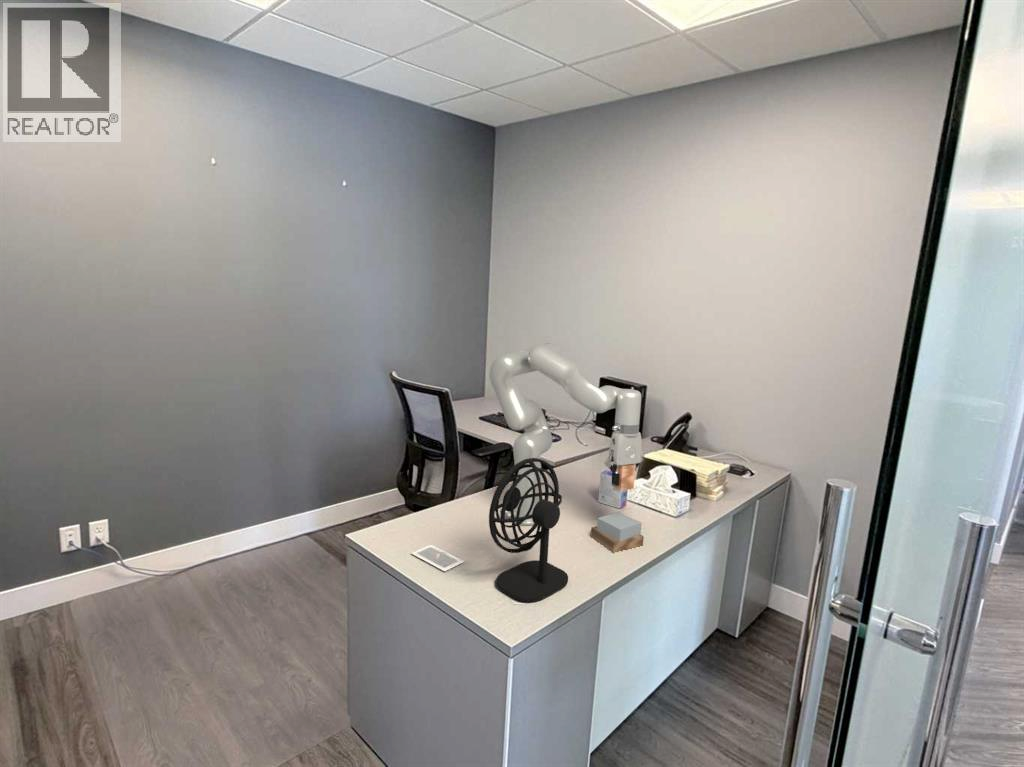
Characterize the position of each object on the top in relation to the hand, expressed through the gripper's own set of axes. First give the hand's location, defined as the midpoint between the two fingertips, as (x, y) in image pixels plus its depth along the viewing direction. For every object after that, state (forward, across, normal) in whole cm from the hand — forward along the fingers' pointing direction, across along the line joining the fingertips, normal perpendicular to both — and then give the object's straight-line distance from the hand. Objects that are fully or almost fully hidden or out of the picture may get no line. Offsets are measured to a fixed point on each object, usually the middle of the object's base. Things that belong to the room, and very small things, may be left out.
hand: (622, 482), depth 173 cm
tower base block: (+21, 0, 0) cm, 21 cm away
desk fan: (+21, -38, -10) cm, 45 cm away
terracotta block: (+2, 0, 0) cm, 2 cm away
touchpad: (+21, -58, +11) cm, 63 cm away
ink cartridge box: (+21, +18, +27) cm, 39 cm away
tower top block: (+17, 0, 0) cm, 17 cm away
